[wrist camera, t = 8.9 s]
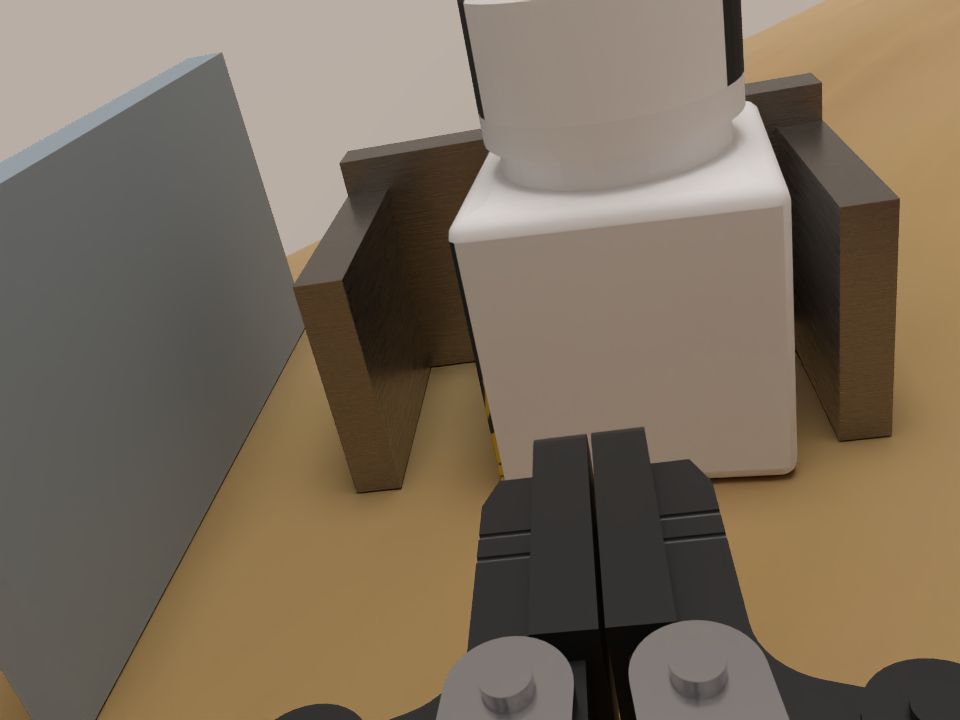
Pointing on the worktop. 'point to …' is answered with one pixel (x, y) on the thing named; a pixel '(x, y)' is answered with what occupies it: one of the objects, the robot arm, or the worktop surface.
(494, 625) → the robot arm
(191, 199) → the door board
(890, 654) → the worktop surface
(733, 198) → the medicine bottle
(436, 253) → the keeper
